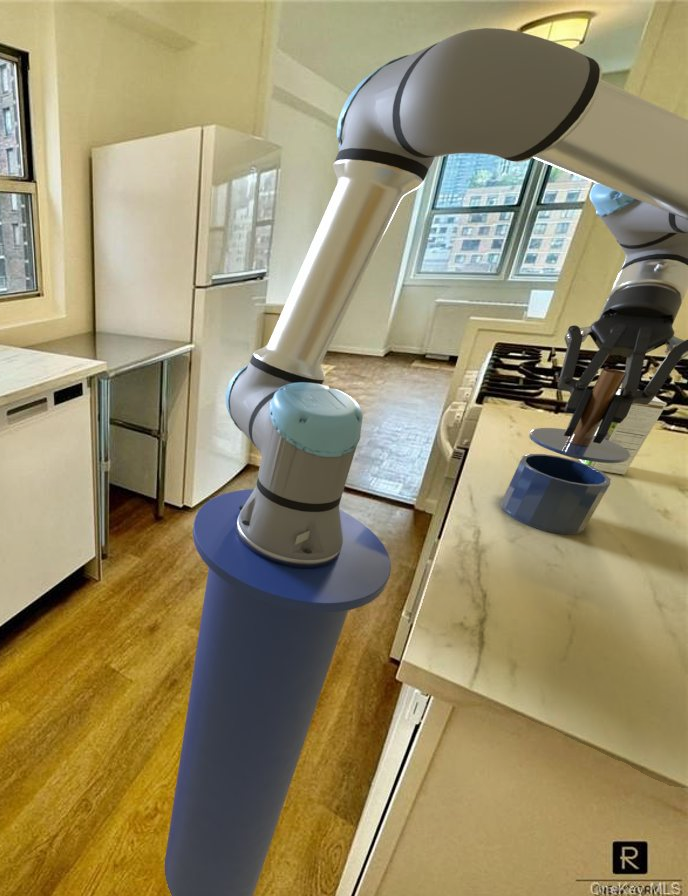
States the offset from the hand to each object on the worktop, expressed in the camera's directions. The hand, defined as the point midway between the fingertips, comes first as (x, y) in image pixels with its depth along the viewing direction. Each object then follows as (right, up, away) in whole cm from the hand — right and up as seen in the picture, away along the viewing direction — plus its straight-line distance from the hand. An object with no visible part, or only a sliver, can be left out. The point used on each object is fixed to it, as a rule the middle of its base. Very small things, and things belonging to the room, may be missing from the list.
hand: (584, 435), depth 68 cm
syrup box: (+28, -5, +25) cm, 38 cm away
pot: (+3, -13, +9) cm, 16 cm away
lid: (+3, -2, +4) cm, 5 cm away
